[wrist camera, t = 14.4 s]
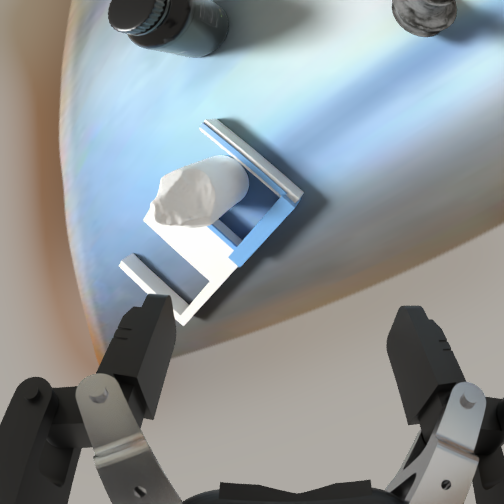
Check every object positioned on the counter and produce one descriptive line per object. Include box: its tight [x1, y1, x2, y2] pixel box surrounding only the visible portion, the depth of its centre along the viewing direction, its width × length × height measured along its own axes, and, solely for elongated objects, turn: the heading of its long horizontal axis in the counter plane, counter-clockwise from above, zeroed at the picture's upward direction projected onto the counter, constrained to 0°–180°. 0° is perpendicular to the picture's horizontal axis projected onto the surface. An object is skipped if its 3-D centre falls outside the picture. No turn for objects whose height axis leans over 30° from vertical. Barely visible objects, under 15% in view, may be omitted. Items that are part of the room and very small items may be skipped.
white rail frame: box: [119, 119, 304, 326], centre depth 36 cm, size 12×23×4 cm, turn 142°
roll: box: [150, 155, 249, 228], centre depth 29 cm, size 6×12×6 cm
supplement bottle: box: [108, 0, 229, 58], centre depth 23 cm, size 7×7×12 cm
